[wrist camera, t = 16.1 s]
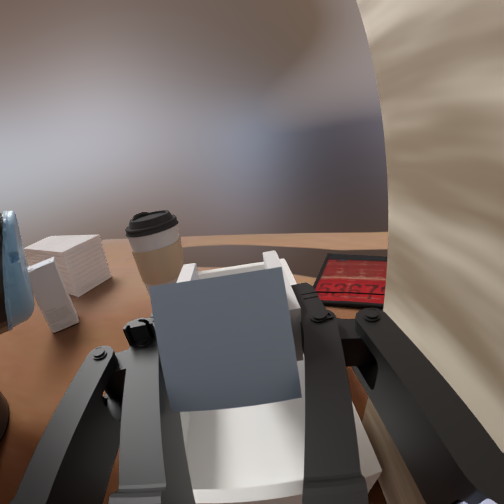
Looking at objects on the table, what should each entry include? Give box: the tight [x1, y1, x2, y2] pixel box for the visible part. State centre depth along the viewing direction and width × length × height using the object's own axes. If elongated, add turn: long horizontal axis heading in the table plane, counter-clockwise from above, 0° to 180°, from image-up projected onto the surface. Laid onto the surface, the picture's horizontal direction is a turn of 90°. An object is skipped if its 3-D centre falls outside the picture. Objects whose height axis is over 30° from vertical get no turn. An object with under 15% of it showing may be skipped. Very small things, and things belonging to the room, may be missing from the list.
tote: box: [180, 259, 382, 504], centre depth 27 cm, size 14×33×6 cm, turn 4°
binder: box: [313, 253, 388, 309], centre depth 42 cm, size 16×2×21 cm
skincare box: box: [27, 257, 79, 333], centre depth 39 cm, size 6×4×12 cm
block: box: [149, 267, 302, 412], centre depth 21 cm, size 4×26×4 cm, turn 4°
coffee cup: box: [125, 210, 184, 298], centre depth 46 cm, size 9×9×15 cm
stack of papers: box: [24, 235, 112, 297], centre depth 61 cm, size 32×11×11 cm, turn 65°
